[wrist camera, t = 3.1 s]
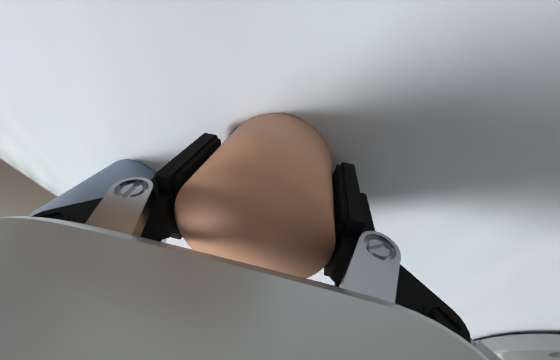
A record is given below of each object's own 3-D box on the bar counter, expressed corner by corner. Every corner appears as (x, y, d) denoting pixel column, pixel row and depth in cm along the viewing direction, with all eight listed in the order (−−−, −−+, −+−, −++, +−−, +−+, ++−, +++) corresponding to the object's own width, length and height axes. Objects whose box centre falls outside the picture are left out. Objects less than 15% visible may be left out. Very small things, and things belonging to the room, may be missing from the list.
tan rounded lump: (347, 126, 10) (362, 192, 6) (316, 216, 13) (312, 296, 9) (226, 102, 10) (160, 147, 6) (226, 195, 14) (184, 263, 10)
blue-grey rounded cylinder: (166, 167, 13) (95, 227, 9) (176, 217, 16) (124, 281, 12) (100, 152, 14) (3, 204, 9) (120, 204, 16) (50, 262, 12)
